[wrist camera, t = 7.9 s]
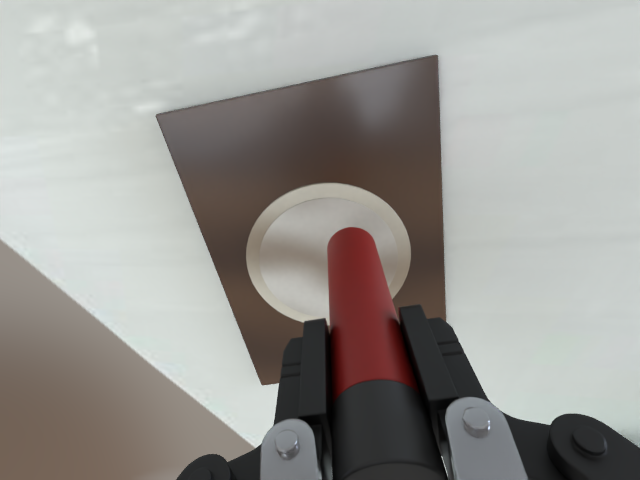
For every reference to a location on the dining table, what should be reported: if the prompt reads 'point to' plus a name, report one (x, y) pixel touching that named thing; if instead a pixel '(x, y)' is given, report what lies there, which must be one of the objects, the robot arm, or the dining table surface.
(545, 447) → the robot arm
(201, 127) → the brown flat rectangular board
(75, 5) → the dining table surface
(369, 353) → the marker
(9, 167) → the dining table surface
